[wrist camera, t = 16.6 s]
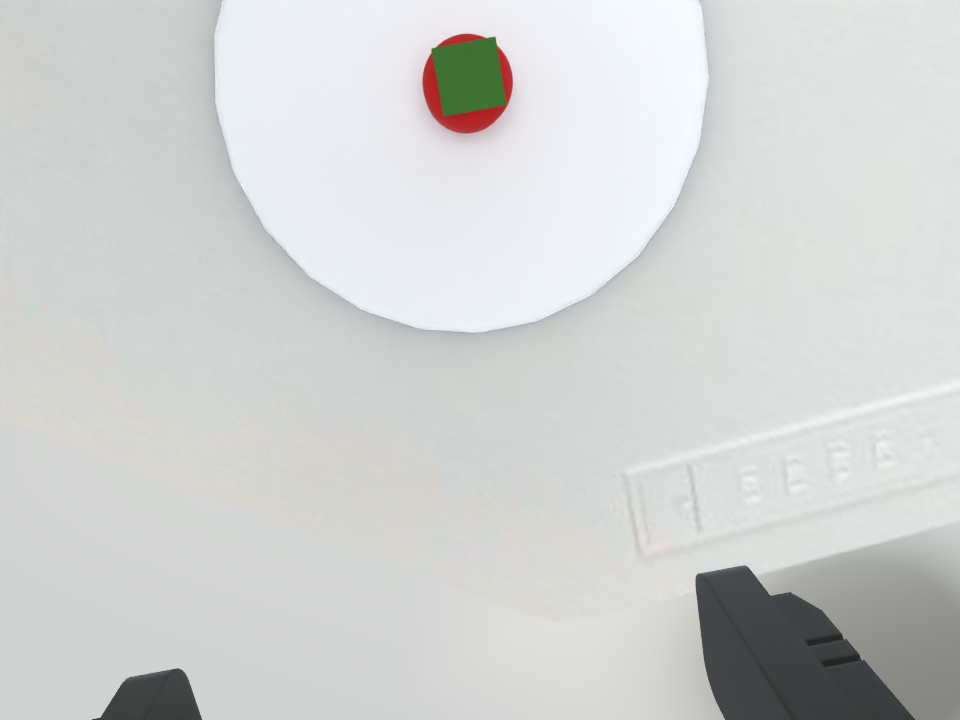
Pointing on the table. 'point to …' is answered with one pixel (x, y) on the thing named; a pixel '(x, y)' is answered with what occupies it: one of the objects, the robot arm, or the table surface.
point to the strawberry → (467, 83)
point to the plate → (461, 147)
